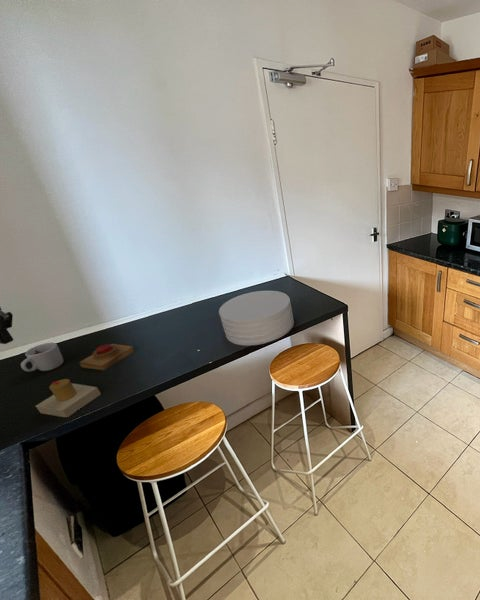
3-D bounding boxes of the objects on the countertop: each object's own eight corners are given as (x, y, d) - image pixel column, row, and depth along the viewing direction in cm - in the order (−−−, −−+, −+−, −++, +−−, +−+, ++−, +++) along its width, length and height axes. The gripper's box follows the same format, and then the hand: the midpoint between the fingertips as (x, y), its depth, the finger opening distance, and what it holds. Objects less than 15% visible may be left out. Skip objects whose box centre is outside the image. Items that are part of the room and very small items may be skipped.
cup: (39, 380, 108) (26, 361, 104) (20, 377, 109) (7, 359, 106) (73, 360, 118) (62, 343, 114) (55, 358, 119) (44, 341, 115)
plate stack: (306, 323, 141) (303, 301, 136) (248, 354, 121) (241, 329, 116) (271, 306, 156) (266, 285, 151) (213, 330, 136) (206, 307, 131)
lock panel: (67, 417, 93) (61, 410, 92) (40, 413, 95) (35, 405, 94) (101, 394, 102) (96, 386, 101) (76, 390, 104) (71, 382, 102)
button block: (104, 370, 113) (99, 361, 111) (81, 367, 114) (76, 358, 112) (134, 350, 123) (131, 342, 121) (113, 348, 125) (109, 339, 123)
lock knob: (80, 391, 99) (72, 378, 96) (65, 402, 95) (56, 388, 93) (68, 390, 99) (60, 377, 97) (53, 400, 96) (44, 387, 93)
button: (104, 354, 115) (102, 351, 114) (95, 353, 116) (93, 349, 115) (114, 348, 119) (113, 344, 118) (106, 347, 119) (104, 343, 118)
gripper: (-76, 288, 75) (-31, 347, 83) (-34, 292, 73) (8, 353, 81) (-33, 276, 82) (5, 332, 89) (7, 280, 79) (42, 337, 87)
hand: (7, 342), depth 85 cm, fingers closed
